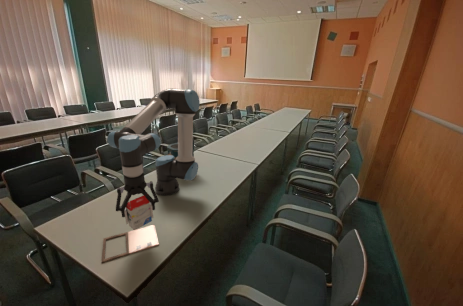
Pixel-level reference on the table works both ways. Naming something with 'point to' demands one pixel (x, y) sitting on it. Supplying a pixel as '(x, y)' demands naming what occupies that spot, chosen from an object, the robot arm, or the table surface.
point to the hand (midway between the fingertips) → (140, 219)
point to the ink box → (138, 212)
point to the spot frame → (116, 255)
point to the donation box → (176, 149)
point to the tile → (142, 239)
